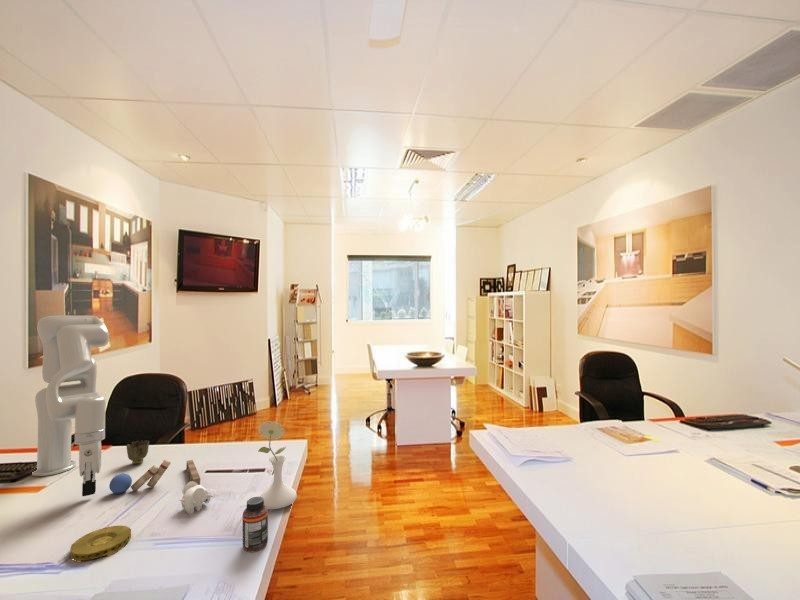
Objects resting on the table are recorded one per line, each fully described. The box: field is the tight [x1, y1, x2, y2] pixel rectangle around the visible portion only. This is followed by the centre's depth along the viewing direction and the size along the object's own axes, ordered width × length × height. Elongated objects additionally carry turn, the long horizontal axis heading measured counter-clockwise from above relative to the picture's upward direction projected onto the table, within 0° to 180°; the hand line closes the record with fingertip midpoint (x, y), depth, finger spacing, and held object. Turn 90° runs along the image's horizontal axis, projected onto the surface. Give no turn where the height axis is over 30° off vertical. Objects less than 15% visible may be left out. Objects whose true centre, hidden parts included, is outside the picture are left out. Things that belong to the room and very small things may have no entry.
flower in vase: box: [257, 420, 298, 510], centre depth 116 cm, size 13×11×25 cm
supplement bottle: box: [242, 496, 269, 553], centre depth 94 cm, size 6×6×11 cm
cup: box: [125, 439, 150, 466], centre depth 148 cm, size 8×7×8 cm
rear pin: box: [146, 459, 172, 488], centre depth 128 cm, size 2×2×8 cm
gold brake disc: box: [69, 525, 132, 562], centre depth 95 cm, size 12×12×2 cm
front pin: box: [130, 465, 159, 492], centre depth 126 cm, size 2×2×8 cm
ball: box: [108, 473, 133, 495], centre depth 124 cm, size 6×6×6 cm
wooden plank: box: [185, 459, 201, 485], centre depth 135 cm, size 20×2×3 cm, turn 36°
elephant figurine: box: [178, 480, 215, 514], centre depth 113 cm, size 8×10×7 cm
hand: (88, 494), depth 120 cm, fingers closed
